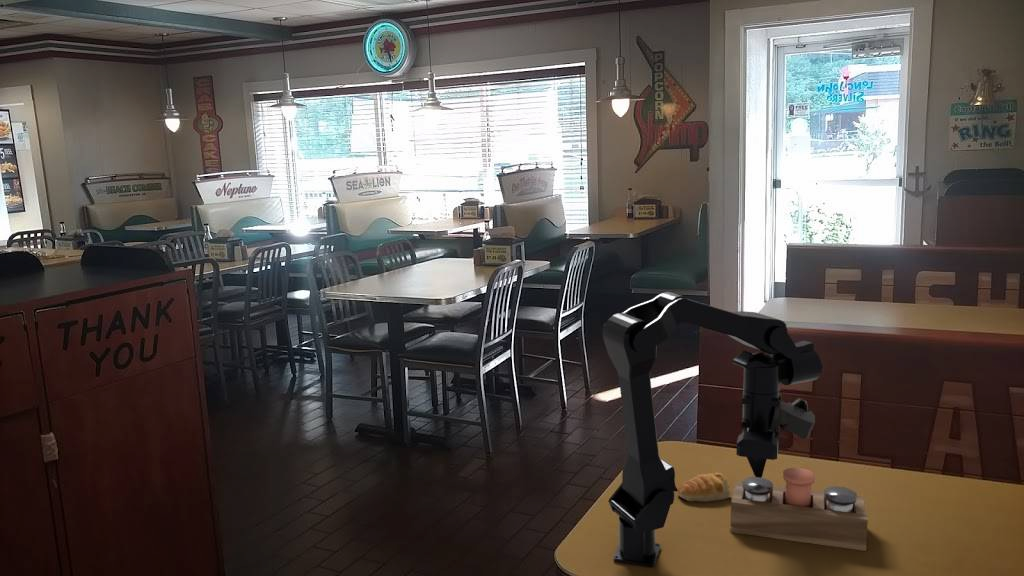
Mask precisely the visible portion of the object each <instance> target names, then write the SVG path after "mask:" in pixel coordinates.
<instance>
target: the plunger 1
mask: <svg viewBox="0 0 1024 576" xmlns="http://www.w3.org/2000/svg"><path fill="white" fill-rule="evenodd" d="M742 483H743V486H742V487H743V489H744V490H745V500H753V501H761V502H769V503H770V493H771V492H772V491H773V486H774V483H773V482H772V481H771V480H769V479H767V478H764V477H761V478H760V477H755V476H751V477H746V478H744V479H743V480H742Z"/></svg>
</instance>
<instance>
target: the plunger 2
mask: <svg viewBox="0 0 1024 576" xmlns="http://www.w3.org/2000/svg"><path fill="white" fill-rule="evenodd" d="M823 492H824V498H825V499H826V500H827V507H826V510H832V511H840V512H848V513H853V504H854V503H855V502H856V501H857V496H858V495H857V493H856V492H855V491H854V490H853V489H850V488H848V487H844V486H838V485H837V486H836V485H835V486H828V487H826V488H824V490H823Z"/></svg>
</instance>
